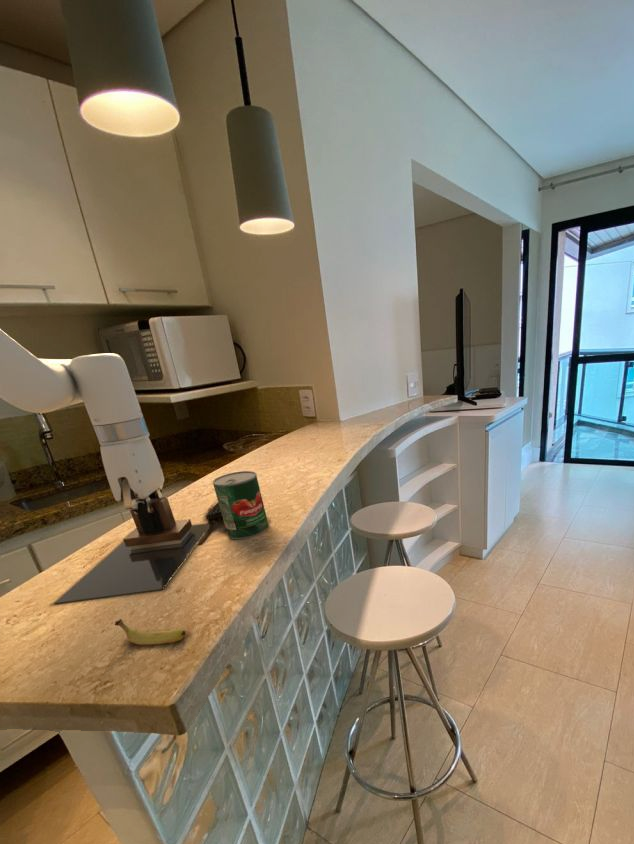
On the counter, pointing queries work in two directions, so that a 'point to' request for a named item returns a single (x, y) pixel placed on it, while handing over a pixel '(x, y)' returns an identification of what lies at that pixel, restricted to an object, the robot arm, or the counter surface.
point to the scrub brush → (171, 529)
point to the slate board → (136, 569)
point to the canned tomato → (241, 504)
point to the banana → (151, 635)
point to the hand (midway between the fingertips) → (157, 527)
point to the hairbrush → (214, 512)
